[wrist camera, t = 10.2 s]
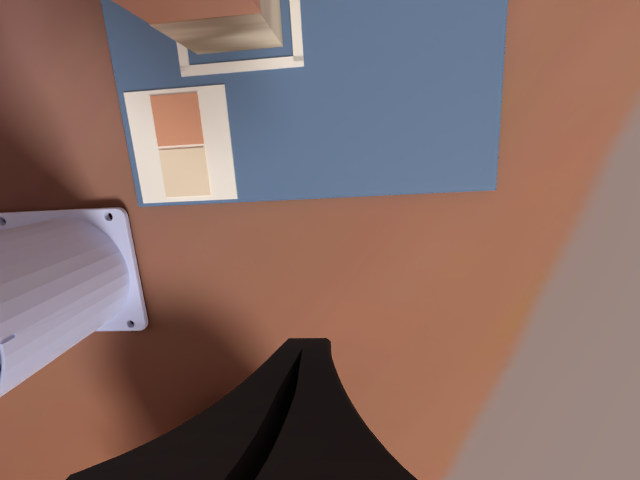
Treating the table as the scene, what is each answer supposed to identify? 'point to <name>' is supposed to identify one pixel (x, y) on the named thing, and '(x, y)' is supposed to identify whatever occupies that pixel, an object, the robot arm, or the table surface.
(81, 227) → the robot arm
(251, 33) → the maple cube
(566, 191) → the table surface
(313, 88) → the board
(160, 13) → the terracotta cube
